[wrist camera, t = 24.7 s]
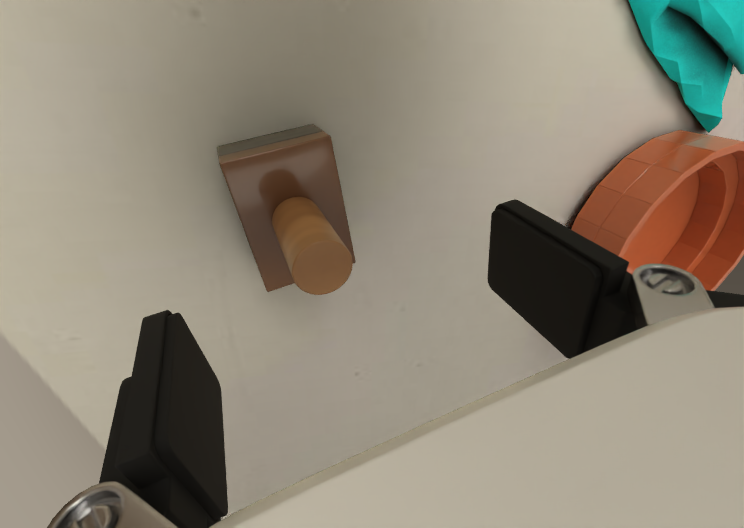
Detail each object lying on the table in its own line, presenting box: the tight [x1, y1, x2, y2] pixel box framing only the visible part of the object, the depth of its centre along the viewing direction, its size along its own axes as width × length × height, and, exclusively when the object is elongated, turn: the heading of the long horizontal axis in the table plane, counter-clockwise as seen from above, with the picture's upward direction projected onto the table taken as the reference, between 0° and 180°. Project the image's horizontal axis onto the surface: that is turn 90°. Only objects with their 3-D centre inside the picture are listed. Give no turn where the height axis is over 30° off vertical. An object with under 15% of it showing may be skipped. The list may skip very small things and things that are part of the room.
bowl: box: [571, 130, 744, 291], centre depth 32 cm, size 17×17×5 cm
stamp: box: [217, 124, 355, 295], centre depth 18 cm, size 7×5×8 cm
